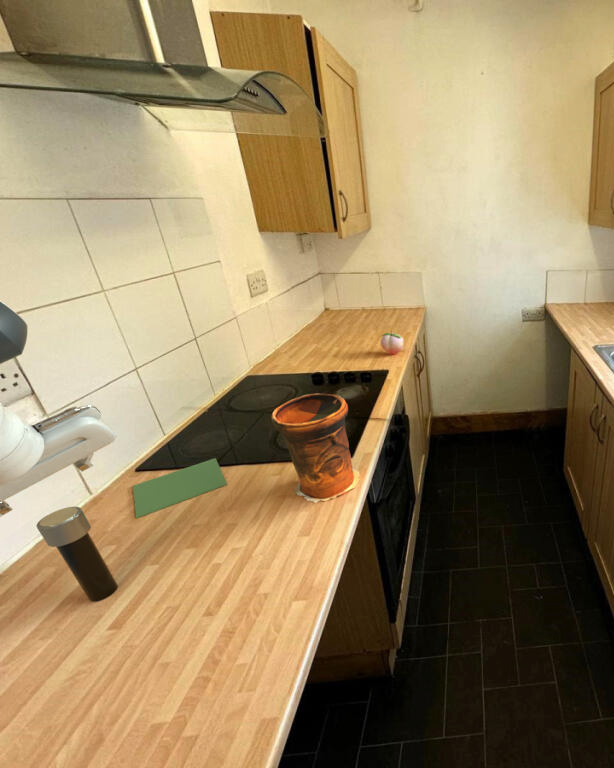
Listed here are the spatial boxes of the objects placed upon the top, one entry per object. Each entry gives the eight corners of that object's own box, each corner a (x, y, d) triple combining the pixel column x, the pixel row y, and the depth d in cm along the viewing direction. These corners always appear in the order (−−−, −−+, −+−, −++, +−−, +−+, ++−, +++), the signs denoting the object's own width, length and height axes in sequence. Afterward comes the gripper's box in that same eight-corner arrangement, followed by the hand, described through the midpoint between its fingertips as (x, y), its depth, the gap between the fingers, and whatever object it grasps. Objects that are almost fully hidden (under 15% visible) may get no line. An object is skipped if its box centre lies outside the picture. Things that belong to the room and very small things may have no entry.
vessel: (312, 516, 85) (289, 431, 76) (282, 487, 93) (258, 408, 85) (374, 482, 95) (359, 404, 86) (342, 459, 103) (326, 386, 95)
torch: (83, 610, 66) (33, 533, 59) (84, 591, 69) (37, 515, 62) (123, 593, 69) (80, 517, 62) (122, 575, 72) (81, 501, 65)
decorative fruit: (408, 351, 175) (406, 328, 171) (401, 358, 168) (398, 334, 164) (387, 350, 177) (384, 327, 173) (379, 357, 169) (375, 333, 165)
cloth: (136, 518, 85) (136, 517, 85) (133, 486, 94) (132, 485, 94) (227, 484, 94) (226, 483, 94) (216, 458, 104) (215, 457, 104)
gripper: (75, 385, 57) (115, 429, 68) (-160, 488, 44) (-65, 522, 55) (104, 416, 56) (140, 455, 67) (-127, 530, 43) (-37, 556, 54)
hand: (46, 486), depth 61 cm, fingers open, 8 cm apart
